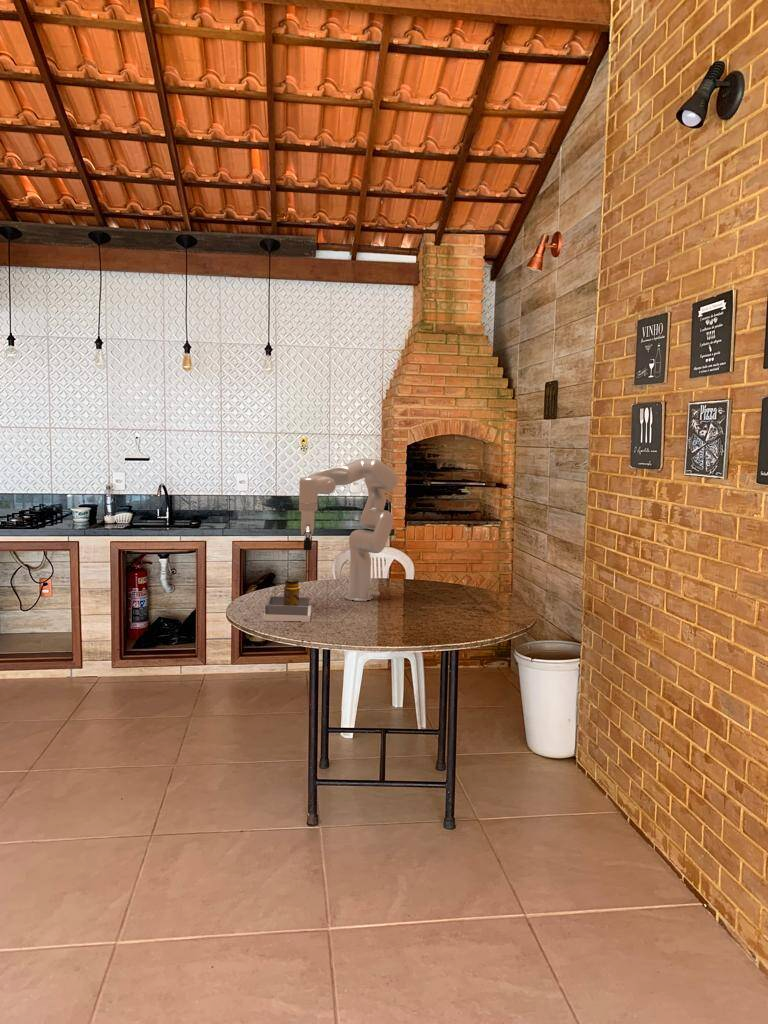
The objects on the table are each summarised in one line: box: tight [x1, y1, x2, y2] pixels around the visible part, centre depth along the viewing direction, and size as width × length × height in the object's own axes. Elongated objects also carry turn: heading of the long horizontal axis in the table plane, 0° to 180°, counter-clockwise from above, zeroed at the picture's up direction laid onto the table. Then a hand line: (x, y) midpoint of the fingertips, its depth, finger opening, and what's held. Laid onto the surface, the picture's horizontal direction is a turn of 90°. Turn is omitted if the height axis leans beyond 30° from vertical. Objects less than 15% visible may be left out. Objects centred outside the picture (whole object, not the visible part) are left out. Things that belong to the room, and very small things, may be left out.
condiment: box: [283, 578, 300, 606], centre depth 278 cm, size 7×8×12 cm
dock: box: [262, 595, 312, 623], centre depth 279 cm, size 18×18×6 cm
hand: (307, 547), depth 290 cm, fingers open, 9 cm apart
